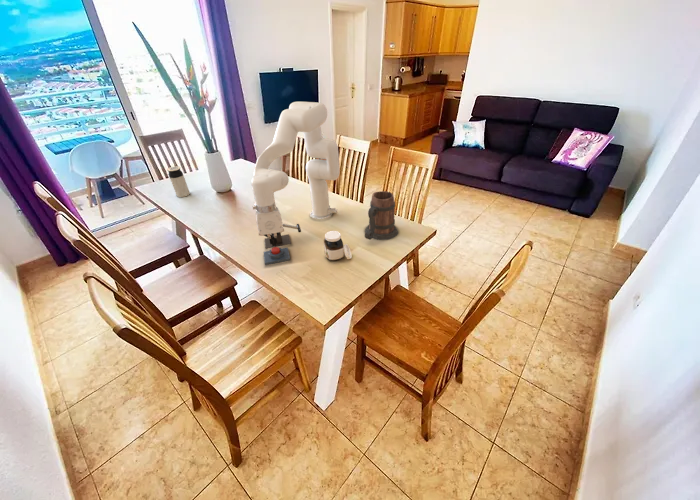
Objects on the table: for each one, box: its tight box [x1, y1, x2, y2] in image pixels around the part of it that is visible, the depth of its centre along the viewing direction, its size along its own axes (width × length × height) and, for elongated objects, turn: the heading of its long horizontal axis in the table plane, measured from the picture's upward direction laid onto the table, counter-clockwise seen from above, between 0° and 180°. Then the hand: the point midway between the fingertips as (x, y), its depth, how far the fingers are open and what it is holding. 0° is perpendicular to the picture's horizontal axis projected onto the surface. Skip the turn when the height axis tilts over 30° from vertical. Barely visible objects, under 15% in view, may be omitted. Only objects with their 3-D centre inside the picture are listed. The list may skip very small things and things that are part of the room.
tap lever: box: [282, 223, 302, 233], centre depth 141 cm, size 14×6×2 cm, turn 107°
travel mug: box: [166, 165, 191, 198], centre depth 190 cm, size 8×8×18 cm
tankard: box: [364, 190, 399, 241], centre depth 144 cm, size 24×17×20 cm
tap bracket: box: [264, 232, 292, 249], centre depth 141 cm, size 12×9×13 cm
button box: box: [263, 247, 291, 266], centre depth 133 cm, size 11×9×4 cm
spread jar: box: [323, 230, 353, 262], centre depth 131 cm, size 12×11×12 cm
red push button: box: [270, 246, 280, 254], centre depth 132 cm, size 4×4×2 cm
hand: (274, 244), depth 130 cm, fingers closed
